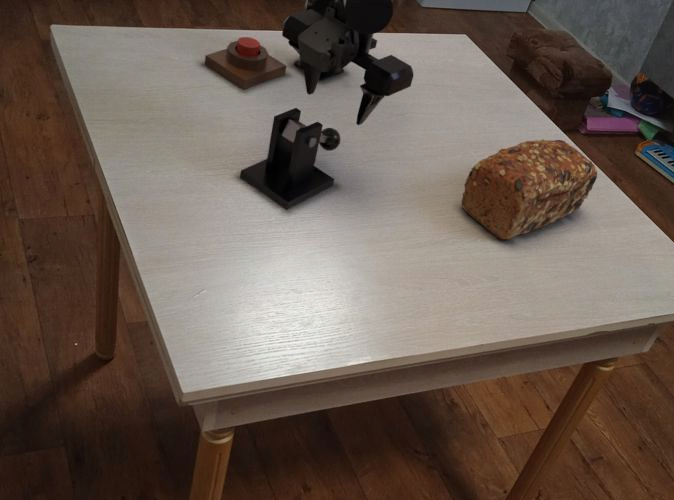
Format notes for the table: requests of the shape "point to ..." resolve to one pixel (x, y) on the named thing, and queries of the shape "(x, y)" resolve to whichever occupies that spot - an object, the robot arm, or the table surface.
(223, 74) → the button block
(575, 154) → the bread
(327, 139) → the lever
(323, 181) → the bracket
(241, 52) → the button
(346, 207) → the table surface
